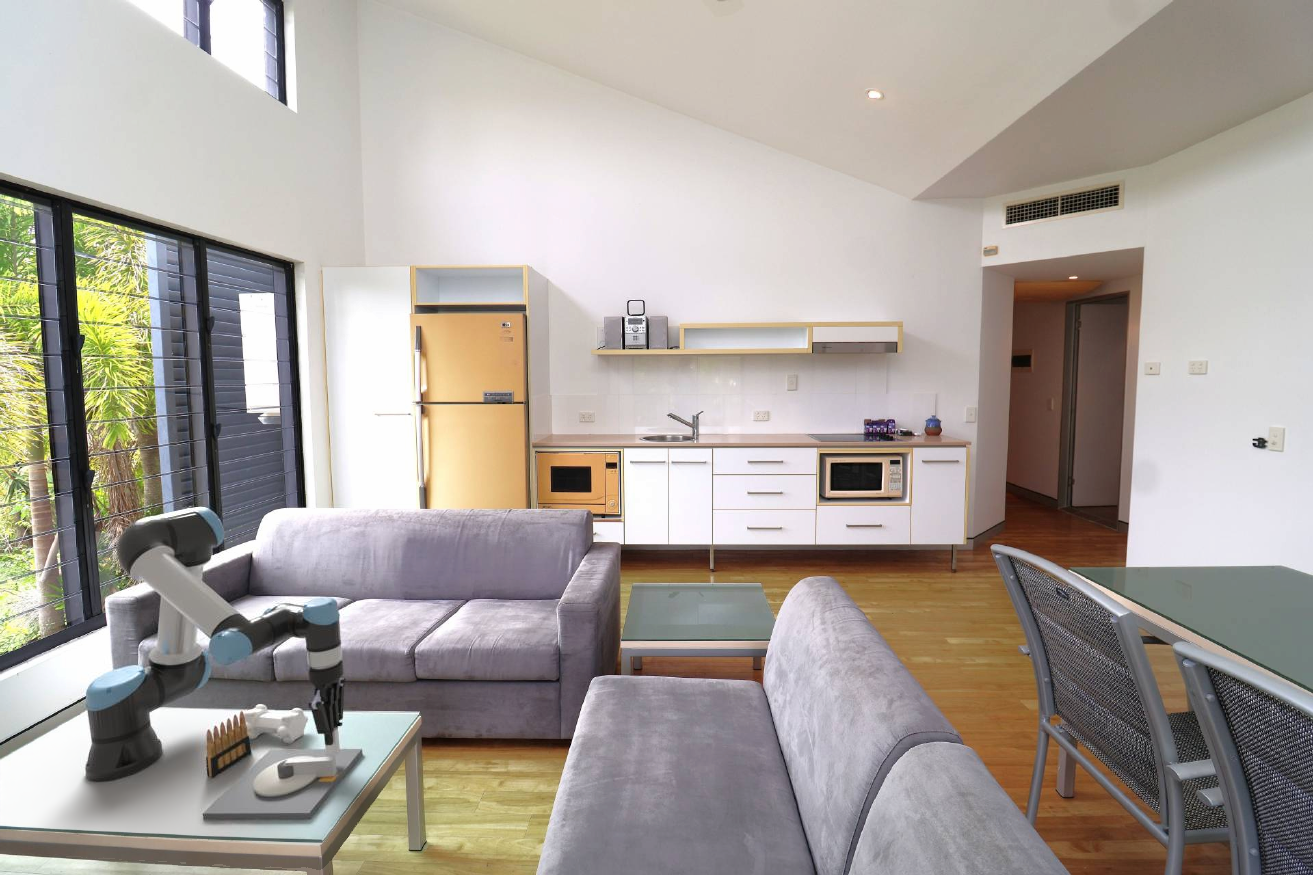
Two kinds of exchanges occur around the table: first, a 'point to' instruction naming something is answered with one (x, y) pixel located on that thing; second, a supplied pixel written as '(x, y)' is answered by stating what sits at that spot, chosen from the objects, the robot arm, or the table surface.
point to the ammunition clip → (227, 746)
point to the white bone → (275, 723)
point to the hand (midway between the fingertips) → (333, 753)
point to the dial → (292, 775)
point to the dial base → (295, 805)
